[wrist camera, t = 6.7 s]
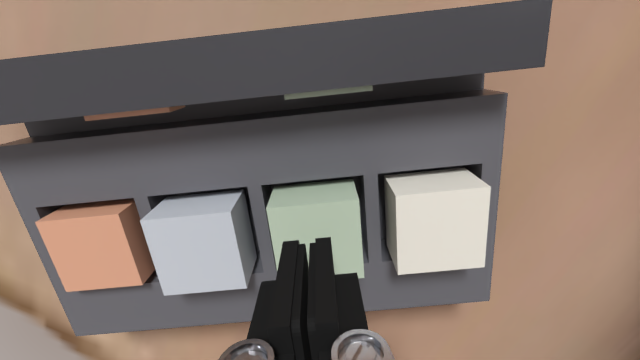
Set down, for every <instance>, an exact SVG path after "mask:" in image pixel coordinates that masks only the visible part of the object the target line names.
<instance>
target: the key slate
mask: <svg viewBox="0 0 640 360" xmlns="http://www.w3.org/2000/svg"><path fill="white" fill-rule="evenodd" d="M140 223H141V226H142V229H143V232H144V235H145V238H146V242H147V245H148V248H149V251H150V254H151V257H152V260H153V263H154V266H155V269H156V272H157V276H158V279H159V282H160V285H161V288H162V291H163V294H164V296H167V295H178V294H190V293H201V292H212V291H223V290H234V289H246V288H247V287H248V284H249V280H250V277H251V274H252V271H253V268H254V265H255V262H256V258H257V254H256V249H255V244H254V239H253V234H252V229H251V224H250V219H249V213H248V208H247V203H246V198H245V193H244V189H242V190H232V191H222V192H212V193H202V194H191V195H181V196H171V197H166V198H165V199H164V200H163V201H161V202H160V203H159V204H158V205H157V206H156V207H155V208H154V209H152V210H151V211H150V212H149V213H148V214H147V215H146V216H145V217H143V218H142V219H141V220H140Z"/></svg>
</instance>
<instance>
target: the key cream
mask: <svg viewBox="0 0 640 360" xmlns="http://www.w3.org/2000/svg"><path fill="white" fill-rule="evenodd" d="M384 191H385V217H386V242H387V247H388V250H389V253H390V255H391V258H392V261H393V263H394V266H395V269H396V271H397V274H398V275H403V274H414V273H426V272H437V271H448V270H459V269H470V268H482V267H485V256H486V243H487V231H488V218H489V206H490V193H491V186H489V185H488V184H486V183H485V182H484V181H482V180H481V179H479V178H478V177H477V176H475V175H474V174H473V173H471V172H470V171H468V170H467V169H466V168H455V169H445V170H435V171H425V172H415V173H404V174H394V175H384Z"/></svg>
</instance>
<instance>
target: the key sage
mask: <svg viewBox="0 0 640 360" xmlns="http://www.w3.org/2000/svg"><path fill="white" fill-rule="evenodd" d="M266 211H267V216H268V222H269V228H270V233H271V239H272V245H273V251H274V256H275V262H276V268H277V271H278V265H279V260H280V254H281V249H282V244H283V242H284V241H294V240H299V243H300V244H305V245H306V252H307V259H308V267H309V248H310V243H315V238H324V237H331V244H332V253H333V263H334V272H335V274H346V273H356V272H357V275H358V278H364V264H363V249H362V235H361V220H360V206H359V198H358V194H357V191H356V187H355V184H354V181H353V179H344V180H333V181H323V182H313V183H303V184H293V185H283V186H274V188H273V191H272V194H271V196H270V199H269V202H268V205H267V207H266Z"/></svg>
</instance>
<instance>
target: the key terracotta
mask: <svg viewBox="0 0 640 360" xmlns="http://www.w3.org/2000/svg"><path fill="white" fill-rule="evenodd" d="M140 220H141V219H140V216H139V213H138V210H137V207H136V204H135V201H134V198H127V199H117V200H107V201H97V202H87V203H77V204H66V205H65V206H63V207H61V208H59V209H57V210H56V211H54V212H52V213H50V214H49V215H47V216H45V217H43V218H41V219H40V220H38V221H36V222H35V223H36V226H37V228H38V230H39V232H40V235H41V237H42V239H43V241H44V244H45V246H46V248H47V250H48V252H49V255H50V257H51V259H52V261H53V264H54V266H55V268H56V270H57V273H58V275H59V277H60V279H61V282H62V284H63V286H64V288H65V291H66V292H72V291H84V290H95V289H106V288H117V287H128V286H139V285H143V284H144V283H145V282H146V280H147V279H148V278H149V277H150V275H151V274H152V273H153V272H154V270H155V266H154V263H153V260H152V257H151V254H150V251H149V248H148V245H147V242H146V238H145V235H144V232H143V229H142V226H141V223H140Z"/></svg>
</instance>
